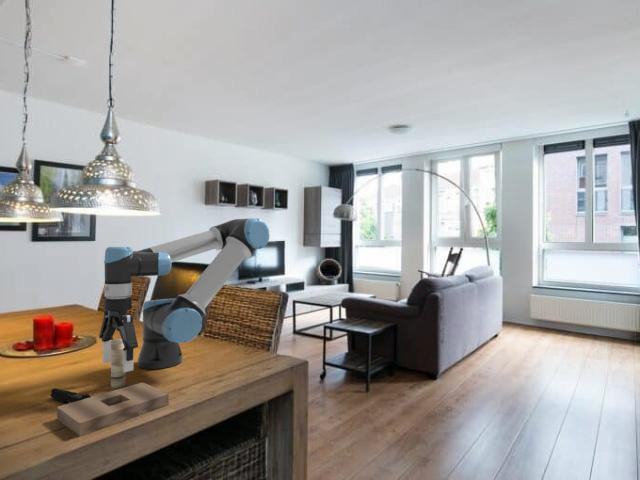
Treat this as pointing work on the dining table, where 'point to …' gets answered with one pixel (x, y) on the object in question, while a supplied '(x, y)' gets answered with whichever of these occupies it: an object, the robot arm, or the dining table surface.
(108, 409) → the walnut board
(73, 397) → the electric trimmer
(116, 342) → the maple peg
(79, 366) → the dining table surface
